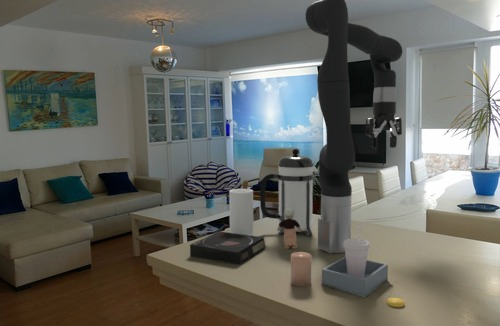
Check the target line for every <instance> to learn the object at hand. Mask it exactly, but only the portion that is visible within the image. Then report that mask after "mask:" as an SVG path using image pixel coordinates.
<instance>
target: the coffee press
mask: <svg viewBox="0 0 500 326" xmlns="http://www.w3.org/2000/svg"><path fill="white" fill-rule="evenodd" d="M299 153H300V151H299V150H298V148H293V150H292V155H286V156H283V157H281V158H280V159H279V160H278V163H277V164H276V165H277V167H278V173H277V174H276V173H275V174H274V173H269V174H266V175H265V176H264V177H262V179H261V183H260V193H259V195H260V204H259V205H260V210H261V213H262V214H263V216H265V217H266V218H268V219H277V220H278V224H279V223H280V222H281V221H283V220H285V219H287V218H286V216H285V215H284V212H285V210H286V209H287V208H293V210H294V216H293V218H292V219H294V220H296V221H297V222H298V223H299V225H300V227H301V230H302V232H304V233H305V235H306V236H307V235H309V236H308V237H310V235H311V236H313V233H312V230H311V228H313V227H312V226H313V191H314V190H313V187H314V185H313V181H314V173H315V172H317V173H319V169H317V167H316V166H315V164H314V162H313V160H312V159H311V158H310V157H309V156H304V155H298V154H299ZM275 179H278V213H272V212H268V210H267V208H266V184H267V182H268V181H269V180H275ZM284 228H285V227H281V229H280V231H278V234H279V236H283V237H284ZM295 230H296V233H298V232H299V230H298V228H297V227H296V226H295ZM299 233H300V232H299Z"/></svg>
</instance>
